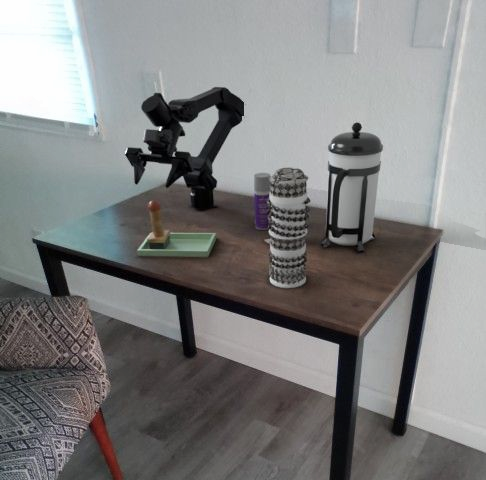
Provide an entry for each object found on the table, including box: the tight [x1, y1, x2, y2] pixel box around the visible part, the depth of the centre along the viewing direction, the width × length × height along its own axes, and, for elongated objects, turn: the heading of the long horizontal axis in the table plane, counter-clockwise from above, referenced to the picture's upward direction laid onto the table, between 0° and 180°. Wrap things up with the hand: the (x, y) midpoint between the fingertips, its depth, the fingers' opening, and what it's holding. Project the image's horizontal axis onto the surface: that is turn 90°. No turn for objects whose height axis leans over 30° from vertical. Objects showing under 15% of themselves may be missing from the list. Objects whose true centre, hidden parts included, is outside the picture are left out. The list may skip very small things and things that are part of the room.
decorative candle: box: [266, 167, 311, 289], centre depth 107 cm, size 9×9×25 cm
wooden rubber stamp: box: [147, 200, 171, 249], centre depth 128 cm, size 4×6×13 cm
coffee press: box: [320, 121, 384, 254], centre depth 120 cm, size 17×16×30 cm
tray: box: [136, 232, 217, 258], centre depth 131 cm, size 19×12×2 cm, turn 82°
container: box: [253, 172, 271, 231], centre depth 138 cm, size 5×5×15 cm
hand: (150, 185), depth 132 cm, fingers open, 9 cm apart
